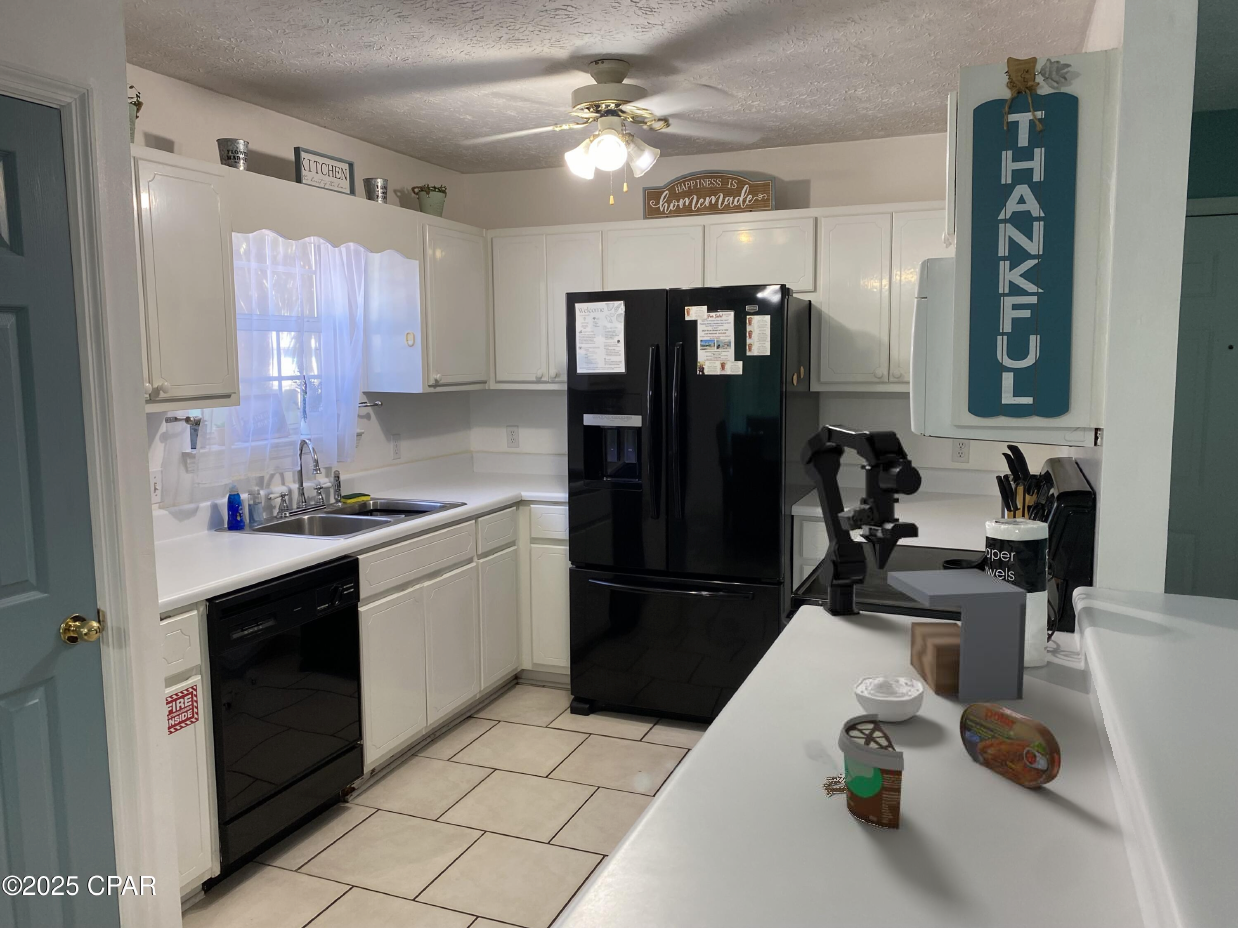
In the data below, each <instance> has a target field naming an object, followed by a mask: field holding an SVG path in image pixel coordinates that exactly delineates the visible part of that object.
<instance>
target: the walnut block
mask: <svg viewBox="0 0 1238 928" xmlns="http://www.w3.org/2000/svg"><path fill="white" fill-rule="evenodd" d="M910 626H911V627H910V658H909V659H910V661H909V662H910V663H909V664H910V665H911V667H912V668H913V669H914V670H915V672H916V673H917V674H918V675H919V677H920V678H921V679H922V680H923V681H924V682H925V684H926V686H928V687H929V689H930V690H931V691H932V692H933V694H934V695H959V668H960V637H961V624H960V625H959V624H958V623H957V622H945V621H944V622H939V621H938V622H937V621H934V622H932V621H930V622H928V621H927V622H926V621H923V622H921V621H916V622H915V621H913V622H911V623H910Z"/></svg>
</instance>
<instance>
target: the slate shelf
mask: <svg viewBox="0 0 1238 928" xmlns="http://www.w3.org/2000/svg"><path fill="white" fill-rule="evenodd" d="M886 583H887V584H888V585H889V586H891V587H893V588H895V589H896V590H898V591H900V592H902V593H903V594H905V595H907V596H909V597H910V598H912V599H914V600H916V601H917V602H918V603H921V604H922V605H924V606H926V607H927V608H946V607H948V608H949V607H952V608H953V607H960V609H961V610H960V613H961V615H960V626H961V637H960V668H959V694H958V701H959V702H960V703H969V702H970V703H972V702H975V703H976V702H987V701H988V702H989V701H993V702H994V701H1006V700H1009V701H1010V700H1023V697H1024V696H1023V695H1024V673H1025V670H1024V669H1025V650H1026V649H1025V648H1026V627H1027V626H1026V622H1027V598H1028V597H1027V595H1028V591H1027V590H1025V589H1023V588H1020V587H1018V586H1016V585H1014V584H1012V583H1010V582H1007V581H1005V580H1003V579H1000V578H998V577H996V576H993V575H991V574H989V573H987V572H985V571H982V570H980V569H978V568H962V569H936V570H934V569H933V570H912V571H911V570H909V571H907V570H906V571H887V581H886Z"/></svg>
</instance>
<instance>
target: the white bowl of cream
mask: <svg viewBox="0 0 1238 928" xmlns="http://www.w3.org/2000/svg"><path fill="white" fill-rule="evenodd" d="M853 691H854V695H855V697H856V701H857V703H858V704H859V706H860V707H861V708H862V709H863V710H864V712H865V714H878V721H881V722H890V723H891V722H892V723H893V722H894V723H895V722H901V721H905V720H908V719H909V718H911V717H914V715H916V714H918V713H919V712H920V710H921V708H922V706H923V702H924V694H925V693H924V692H925V687H924V686H923V683H922V682H920V681H918V680H915V679H912V678H911V677H904V676H898V675H894V676H893V675H891V676H890V675H878V674H877V675H870V676H863V677H861V678H860V679H859V681H858V683H856V684H855V685H854V686H853Z"/></svg>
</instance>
